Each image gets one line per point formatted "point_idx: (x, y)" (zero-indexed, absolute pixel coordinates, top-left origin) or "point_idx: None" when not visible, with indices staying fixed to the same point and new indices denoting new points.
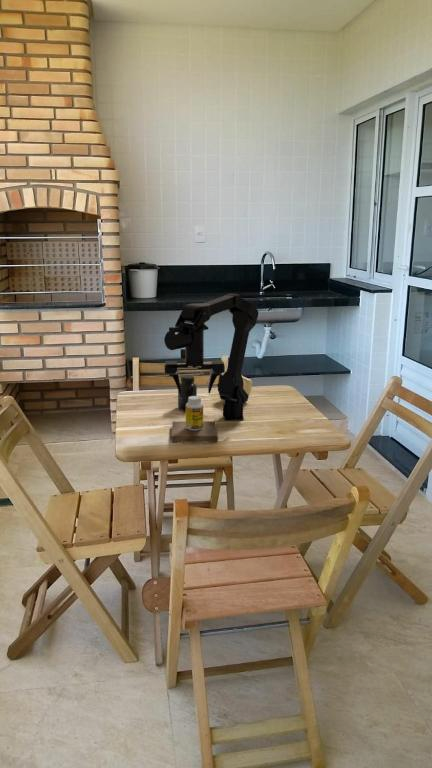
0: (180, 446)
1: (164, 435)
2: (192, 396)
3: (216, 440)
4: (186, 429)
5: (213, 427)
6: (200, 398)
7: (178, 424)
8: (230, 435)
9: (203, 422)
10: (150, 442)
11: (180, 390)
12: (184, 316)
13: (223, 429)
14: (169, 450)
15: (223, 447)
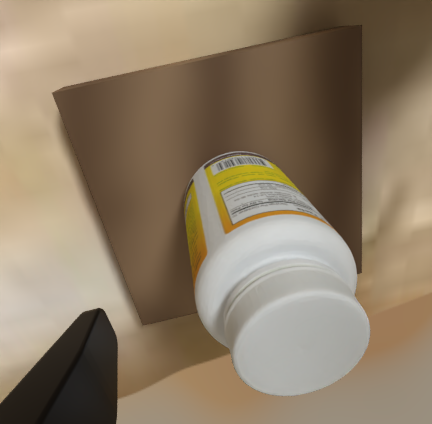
0: (194, 331)
1: (73, 232)
2: (275, 323)
3: None
4: None
5: (346, 159)
6: (365, 349)
7: (118, 149)
8: (416, 159)
9: (280, 70)
10: (47, 325)
11: (112, 402)
12: None
13: (391, 65)
14: (161, 371)
15: (368, 300)
